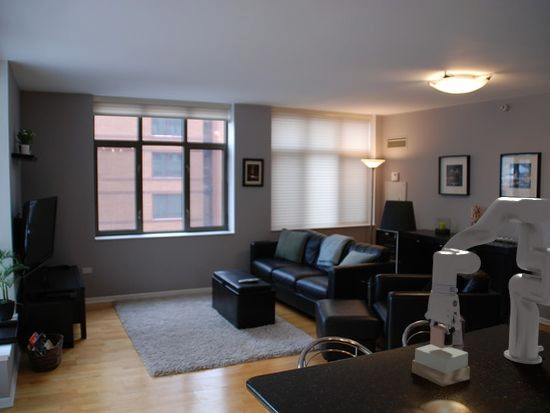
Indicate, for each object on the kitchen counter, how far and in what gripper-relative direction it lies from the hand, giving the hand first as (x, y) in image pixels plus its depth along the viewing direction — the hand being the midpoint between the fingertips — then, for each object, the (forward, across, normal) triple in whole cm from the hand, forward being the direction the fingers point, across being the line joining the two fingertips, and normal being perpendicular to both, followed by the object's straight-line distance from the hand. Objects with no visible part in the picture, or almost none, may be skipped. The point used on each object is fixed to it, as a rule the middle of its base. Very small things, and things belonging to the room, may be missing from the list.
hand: (441, 341), depth 162 cm
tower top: (+8, 0, 0) cm, 8 cm away
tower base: (+12, 0, 0) cm, 12 cm away
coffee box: (+12, +8, -15) cm, 21 cm away
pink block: (+1, 0, 0) cm, 1 cm away
